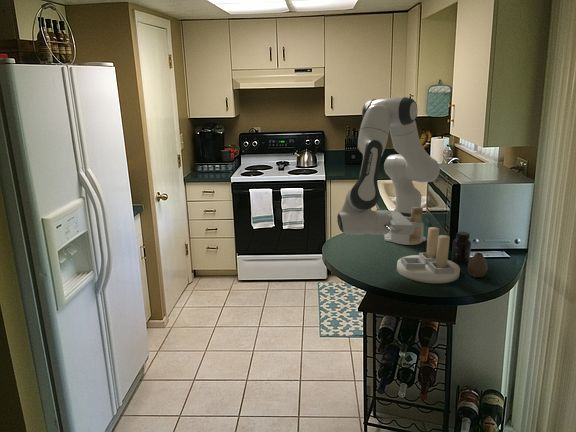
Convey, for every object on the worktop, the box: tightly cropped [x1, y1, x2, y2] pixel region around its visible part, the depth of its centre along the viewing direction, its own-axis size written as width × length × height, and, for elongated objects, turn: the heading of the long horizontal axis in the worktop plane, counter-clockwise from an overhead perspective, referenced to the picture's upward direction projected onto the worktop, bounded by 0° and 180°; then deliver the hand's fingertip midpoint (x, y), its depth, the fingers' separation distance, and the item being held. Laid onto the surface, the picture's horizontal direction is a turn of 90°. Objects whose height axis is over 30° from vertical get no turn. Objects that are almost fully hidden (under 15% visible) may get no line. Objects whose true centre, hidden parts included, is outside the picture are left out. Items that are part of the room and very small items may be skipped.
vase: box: [467, 252, 489, 278], centre depth 180 cm, size 7×7×9 cm
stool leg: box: [409, 206, 424, 244], centre depth 180 cm, size 4×4×13 cm
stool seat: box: [396, 226, 461, 284], centre depth 183 cm, size 23×23×16 cm
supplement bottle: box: [451, 231, 472, 265], centre depth 194 cm, size 7×7×12 cm
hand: (418, 222), depth 180 cm, fingers closed on stool leg, 4 cm apart
